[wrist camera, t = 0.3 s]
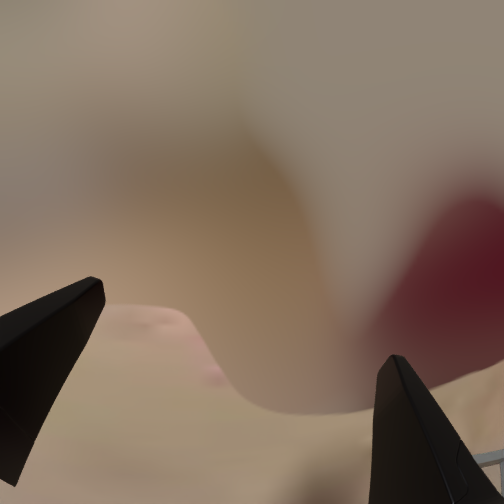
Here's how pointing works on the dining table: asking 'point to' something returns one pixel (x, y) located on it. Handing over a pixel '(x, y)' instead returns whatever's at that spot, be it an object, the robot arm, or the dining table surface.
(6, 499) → the dining table surface
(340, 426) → the dining table surface
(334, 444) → the dining table surface
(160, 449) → the dining table surface
